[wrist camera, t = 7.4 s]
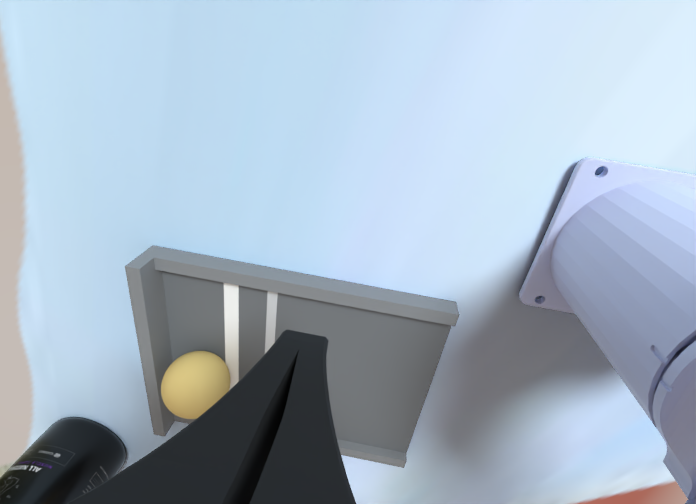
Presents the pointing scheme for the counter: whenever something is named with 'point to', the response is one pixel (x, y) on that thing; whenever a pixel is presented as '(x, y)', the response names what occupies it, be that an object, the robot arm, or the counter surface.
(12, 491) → the supplement bottle
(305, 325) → the lane
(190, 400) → the ball
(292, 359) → the robot arm
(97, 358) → the counter surface
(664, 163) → the counter surface
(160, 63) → the counter surface
